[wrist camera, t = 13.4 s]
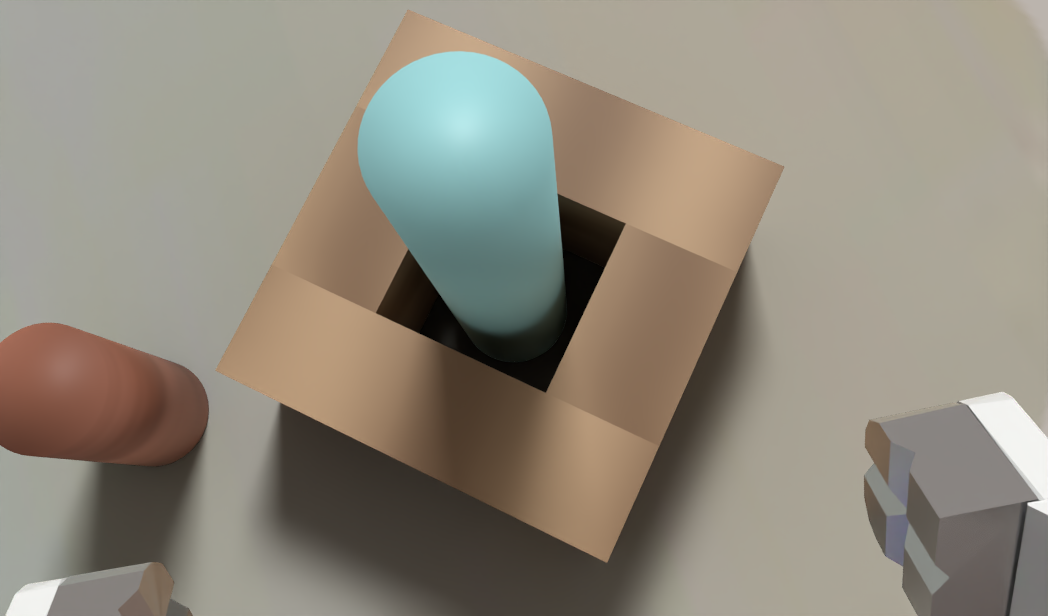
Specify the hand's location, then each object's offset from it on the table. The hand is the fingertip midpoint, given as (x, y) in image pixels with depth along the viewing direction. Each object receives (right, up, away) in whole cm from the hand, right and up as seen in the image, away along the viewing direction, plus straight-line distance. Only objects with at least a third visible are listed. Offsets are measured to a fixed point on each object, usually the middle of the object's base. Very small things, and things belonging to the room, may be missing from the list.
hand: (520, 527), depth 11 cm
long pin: (0, +2, +16) cm, 17 cm away
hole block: (0, +2, +16) cm, 17 cm away
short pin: (-10, 0, +16) cm, 19 cm away
